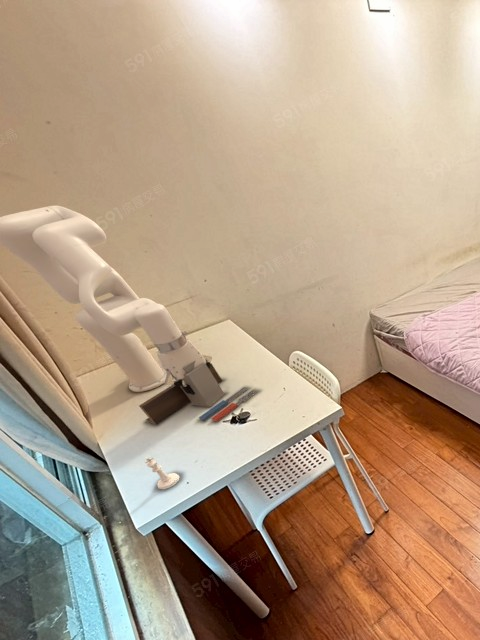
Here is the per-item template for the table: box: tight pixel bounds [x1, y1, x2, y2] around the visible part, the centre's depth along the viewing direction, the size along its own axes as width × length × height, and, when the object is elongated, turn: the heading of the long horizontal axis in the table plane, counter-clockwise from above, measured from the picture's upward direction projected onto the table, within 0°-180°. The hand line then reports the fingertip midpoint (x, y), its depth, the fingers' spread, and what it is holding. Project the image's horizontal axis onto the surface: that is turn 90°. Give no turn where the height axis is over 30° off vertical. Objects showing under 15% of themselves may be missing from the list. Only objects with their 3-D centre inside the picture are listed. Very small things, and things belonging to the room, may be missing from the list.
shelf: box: [138, 362, 223, 426], centre depth 131 cm, size 5×24×8 cm, turn 159°
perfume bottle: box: [173, 361, 226, 408], centre depth 128 cm, size 7×7×18 cm
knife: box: [198, 387, 249, 422], centre depth 131 cm, size 2×17×1 cm, turn 159°
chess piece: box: [144, 456, 180, 490], centre depth 103 cm, size 5×5×10 cm
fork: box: [210, 389, 259, 423], centre depth 130 cm, size 3×16×1 cm, turn 159°
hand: (200, 386), depth 130 cm, fingers closed on perfume bottle, 6 cm apart
